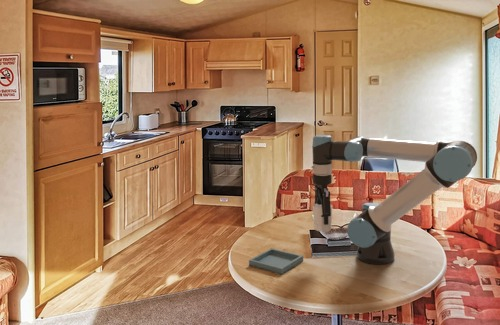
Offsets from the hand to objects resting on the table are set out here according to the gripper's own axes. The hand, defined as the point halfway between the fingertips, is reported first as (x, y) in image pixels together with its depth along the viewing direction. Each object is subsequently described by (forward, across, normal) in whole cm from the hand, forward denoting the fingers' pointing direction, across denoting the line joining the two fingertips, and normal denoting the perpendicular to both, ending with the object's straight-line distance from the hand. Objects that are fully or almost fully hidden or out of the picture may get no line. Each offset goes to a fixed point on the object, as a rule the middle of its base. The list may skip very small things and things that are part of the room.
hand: (322, 228), depth 194 cm
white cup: (+1, 0, 0) cm, 1 cm away
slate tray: (+14, -1, -19) cm, 24 cm away
